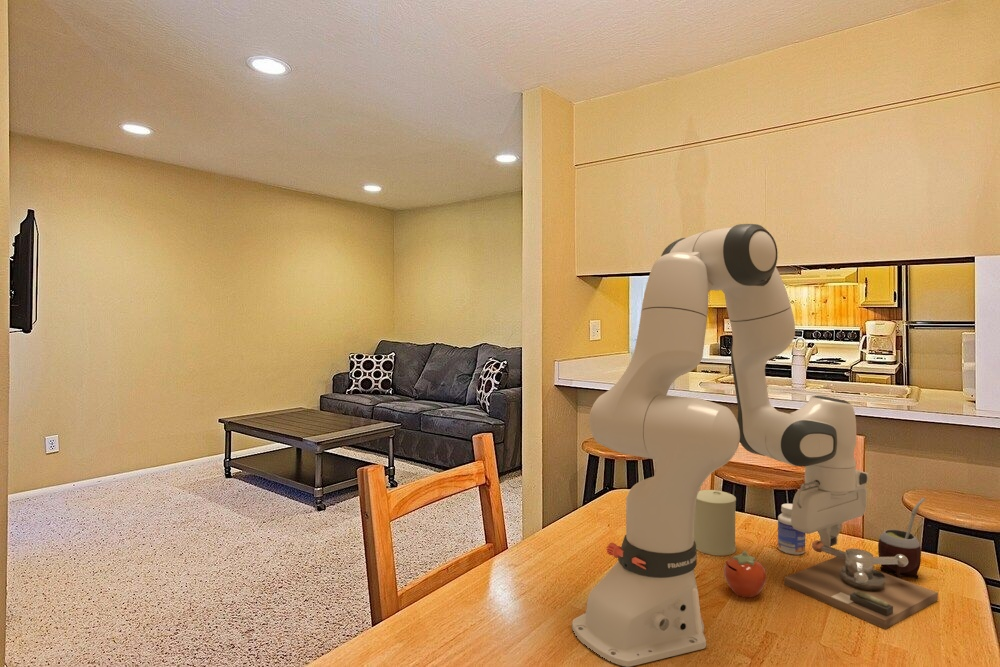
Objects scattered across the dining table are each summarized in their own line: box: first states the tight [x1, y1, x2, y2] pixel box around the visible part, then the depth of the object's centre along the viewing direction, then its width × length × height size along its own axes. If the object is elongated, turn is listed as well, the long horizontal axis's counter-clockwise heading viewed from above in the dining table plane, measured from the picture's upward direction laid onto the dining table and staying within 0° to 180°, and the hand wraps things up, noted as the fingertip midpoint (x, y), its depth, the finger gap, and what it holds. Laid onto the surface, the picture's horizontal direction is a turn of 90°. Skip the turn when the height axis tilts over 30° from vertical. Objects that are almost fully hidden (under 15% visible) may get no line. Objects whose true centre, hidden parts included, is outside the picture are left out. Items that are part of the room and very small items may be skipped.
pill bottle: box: [777, 503, 806, 556], centre depth 127 cm, size 5×5×10 cm
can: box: [694, 489, 737, 557], centre depth 129 cm, size 9×9×12 cm
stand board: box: [783, 556, 939, 630], centre depth 108 cm, size 18×18×4 cm
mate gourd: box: [877, 497, 926, 579], centre depth 116 cm, size 8×8×15 cm
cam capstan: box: [811, 540, 908, 591], centre depth 110 cm, size 16×14×6 cm
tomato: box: [723, 550, 767, 599], centre depth 109 cm, size 7×7×8 cm
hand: (828, 545), depth 117 cm, fingers closed
